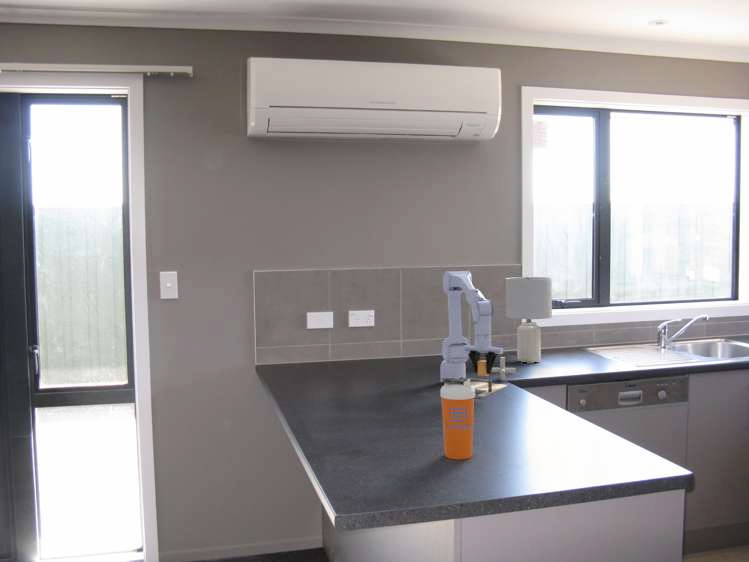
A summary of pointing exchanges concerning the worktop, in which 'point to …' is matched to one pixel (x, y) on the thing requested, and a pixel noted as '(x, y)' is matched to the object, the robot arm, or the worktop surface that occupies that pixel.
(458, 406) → the shaker bottle
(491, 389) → the shelf board
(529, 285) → the lamp
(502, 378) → the pipe connector
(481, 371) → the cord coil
